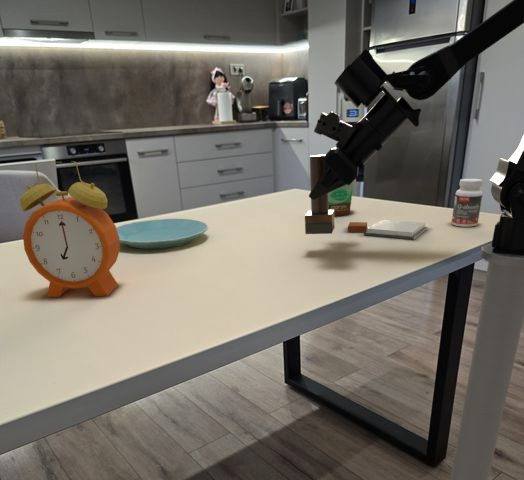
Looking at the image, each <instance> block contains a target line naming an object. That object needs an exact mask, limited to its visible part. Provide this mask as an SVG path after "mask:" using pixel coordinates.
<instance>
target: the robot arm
mask: <svg viewBox="0 0 524 480" xmlns="http://www.w3.org/2000/svg"><path fill="white" fill-rule="evenodd" d="M523 24H524V0H511V1H510V2H509V3H507V4H506V5H504V6H503V7H502V8H501V9H499V10H497V11H496V12H495V13H494V14H492V15H491V16H490V17H488V18H486V19H485V20H483V21H482V22H481V23H480V24H478V25H477V26H475V27H474V28H473V29H471V30H470V31H468V32H467V33H466V34H465V35H463V36H461V37H460V38H459V39H457V40H456V41H454V42H451V43H449V44H448V45H447V46H446V45H445V46H444V47H442V48H440V49H438V50H436V51H434V52H432V53H430V54H428V55H426V56H424V57H422V58H420V59H418V60H417V61H415V62H413V63H412V64H411V65H410V66H409V67H407V69H406V70H402V71H397V72H395V71H392V73H388V74H387V73H386V71H384V69H383V68H382V67H381V66H380V64H378V63H377V61H376V60H375V59H374V57H373V55H372V54H371V52H370V51H369V50H368V49H367V48H365V49H363V50H362V52H361V53H360V54H359V55H358V56H357V57H356V58H355V59H354V60H353V61H352V62H351V63H349V64H348V65H347V66H346V67H345V68H344V70H343V71H342V72H341V73H340V74H339V76H338V77H337V78H336V79H335V81H334V85H335V86H336V87H337V88H338V89H339V90H340V92H341V93H342V94H343V95H344V96H345V97H346V98H347V99H348V100H349V101H350V103H352V105H353V106H354V107H355V108H356V109H358V108H359V107H360V106H361V105H362V106H363V107H364V108H365V109H367V108H368V107H369V106H370V104H372V102H374V100H375V99H376V98H377V97H378V96H379V95H380V94H381V93H384V94H383V95H382V96H381V97H380V98H379V100H378V101H377V102H375V104H374V105H373V106H372V107H371V109H369V111H368V112H366V114H365V115H364V116H363V117H362V118H360V120H359V121H358V120H357V121H356V122H355V123H353V125H351V124H349V123H347V122H345V121H344V120H341V115H340V114H337V113H335V112H334V111H330V112H329V113H325V112H321V113H320V115H319V118H318V119H317V121H316V125H315V127H314V130H313V132H314V133H315V134H317V135H320V136H321V135H323V136H324V137H327V138H329V139H331V140H333V141H336V143H335V147H331V148H330V149H329V150H328V151H327V153H326V154H324V155H325V156H324V157H323V159H324V172H323V174H322V175H321V177H320V178H319V180H318V182H317V183H316V185H315V186H314V188H313V189H312V191H311V190H310V192H309V194H308V197H309V198H310V200H311V199H312V200H314V199H316V198H318V197H320V196H322V195H325V194H327V193H329V192H331V191H333V190H336V189H338V188H340V187H342V186H344V185H347V184H348V185H350V184H351V183H352V182H353V181H354V180H355V179H356V180H357V178H358V176H359V171H361V169H363V167H364V166H365V165H366V163H368V161H370V159H371V158H372V157H374V155H376V153H378V152H379V151H380V150H381V149H382V148H383V147H384V145H385V144H386V143H387V142H388V141H389V140H390V139H391V138H392V137H393V136H394V135H395V133H396V132H397V131H399V130H400V128H402V126H403V125H405V123H406V122H408V121H409V122H410V123H411V124H412V126H414V127H416V128H418V127H419V126H420V115H421V112H422V108H419V107H417V108H413V106H412V105H411V104H410V103H409V102H408V100H406V99H405V97H404V96H402V95H401V96H400V97H399V98H398V99H397V100H396V98H395V97H394V96H393V95H392V94H391V93H390V92H389V90H388V89H387V88H386V87H385V86H384V84H386V85H387V86H388V88H389V89H390V90H393V91H399V92H403V93H404V95H405V96H406V97H407V98H408V99H410V100H412V101H425V100H428V99H429V98H432V97H433V96H434V95H436V93H438V92H439V91H440V89H442V88H443V87H444V86H445V85H446V84H448V82H449V81H451V79H452V78H453V77H454V76H455V75H456V74H457V73H459V71H460V70H461V69H462V68H463V67H464V66H465V65H467V63H469V62H470V61H472V60H473V59H475V58H476V57H478V56H479V55H480V54H481V53H484V52H485V51H487V49H489V48H491V47H492V46H493V45H495V44H496V43H497V42H499V41H500V40H502V39H503V38H505V37H506V36H508V35H509V34H511V33H512V32H514V31H515V30H516V29H518V28H519V27H520V26H522V25H523ZM489 182H490V183H492V184H491V187H490V193H491V195H492V198H493V200H495V201H496V202H497V204H499V209H500V212H502V213H501V214H500V216H499V220H497V222H496V223H495V225H494V229H493V234H492V240H491V244H492V247H494V248H493V251H492V252H493V253H503V254H513V255H524V135H523V136H522V138H521V140H520V143H519V145H518V147H517V149H516V150H515V151H514V152H513V154H512V155H511V156H510V157H509V159H507V158H504V157H500V158H499V161H498V163H497V167H496V170H495V173H494V174H493V175H492V177H491V178H490V179H489Z"/></svg>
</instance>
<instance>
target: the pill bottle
mask: <svg viewBox="0 0 524 480" xmlns="http://www.w3.org/2000/svg"><path fill="white" fill-rule="evenodd" d="M458 183H459V189H457V190H456V191H455V195H454V202H453V210H452V215H451V224H452V225H453V226H455V227H461V228H471V227H476V226H477V225H478V223H479V218H480V212H481V207H482V200H483V191H482V189H481V187H482V186H483V179H481V178H461V179H460V180H459V182H458Z"/></svg>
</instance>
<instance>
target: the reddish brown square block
mask: <svg viewBox="0 0 524 480" xmlns="http://www.w3.org/2000/svg"><path fill="white" fill-rule="evenodd" d="M367 228H368V222H366V221H358V222H357V221H350V222H349V223H348V225H347V233H359V234H360V233H361V234H362V233H363V234H364V233H366V232H367Z"/></svg>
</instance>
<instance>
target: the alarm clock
mask: <svg viewBox="0 0 524 480" xmlns="http://www.w3.org/2000/svg"><path fill="white" fill-rule="evenodd" d="M56 163H57V164H59V163H61V161H53V162H52V161H50V162H47V164H56ZM72 163H75V167H76V171H77V174H78V179H79V182H78V181H77V182H75V183H72V185H70V187H69V188H68V190H65V191H64V190H63V191H57V190H56V189H55V187H53V186H52V185H50V184H48V183H40V179H39V178H40V177H39V174H38V173H39V172H38V167H37V164H38V162H36V163H35V164H34V166H35V167H34V168H35V173H36V179H37V183H35V184H34V185H33V186H32V187H31V185H30V184H28V185H27V186H26V188H27V191H26V192H24V193H23V194H22V195H21V197H20V199H19V206H20V208H21V210H22V211H23V212H28V211H29V210H31V209H33V208H35V207H37V206H38V205H40V207H39V208H37V209H36V210H35V211H33V212H31V215H30V216H29V218H28V219H27V220H26V222H25V225H24V228H23V229H24V230H23V235H22V240H23V241H22V242H23V249H24V252H25V254H26V257H27V259H28V261H29V263H30V265H31V266H32V267H33V268H34V270H35V272H37V274H39V275H40V276H42V277H43V278H44V279H45V280H47V281H48V282H49V285H48V290H47V295H46V297H47V298H60V297H61V296H63V295H64V294H65V293H66V292H67V291H69V290H70V289H82V288H86V287H87V288H88V289H89V291H90V292H91V293H92V294H93V296H94V297H108V296H110V294H111V293H112V292H113V291H114V290H115V289H116V288H117V287H118V286H119V284H118V282H117V280H116V278H115V277H114V276H113V273H111V271H110V270H111V269H112V267H113V266H114V265H115V264H116V262H117V259H118V258H119V257H118V256H119V253H120V251H121V250H120V247H121V245H120V243H121V242H119V235H118V232H117V229H116V227H117V226H116V224H115V223H114V222H113V220H112V218H111V217H110V215H109V214H108V213H107V212H106V211H105V210H104V209H107V207H108V198H107V195H106V193H104V191H102V190H101V189H100V188H98V187H97V186H95V185H96V184H95V183H94V182H91V183H87V182H84V181H83V180H82V178H81V175H80V171H79V168H78V167H79V166H78V164H77V162H76V161H72ZM54 193H55V196H56V197H61V198H60V199H57V200H55V201H53V202H49V203H47V204H45V202H44V201H46V200H47V199H48V198H50V197H51V196H52V195H53V194H54ZM64 196H65V197H64ZM66 196H70V197H66Z"/></svg>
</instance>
